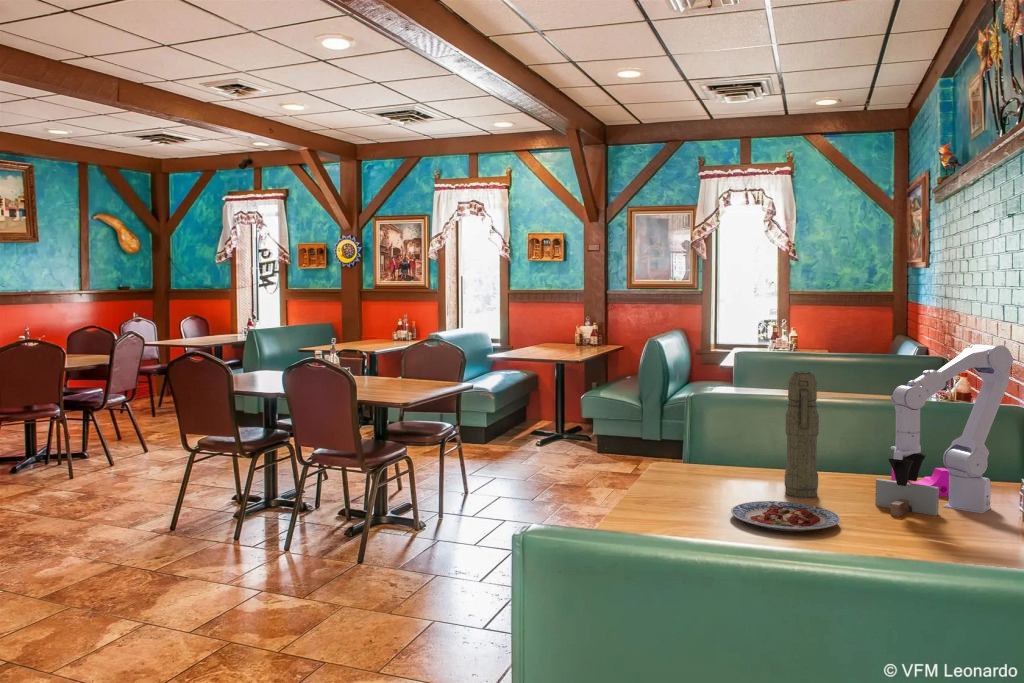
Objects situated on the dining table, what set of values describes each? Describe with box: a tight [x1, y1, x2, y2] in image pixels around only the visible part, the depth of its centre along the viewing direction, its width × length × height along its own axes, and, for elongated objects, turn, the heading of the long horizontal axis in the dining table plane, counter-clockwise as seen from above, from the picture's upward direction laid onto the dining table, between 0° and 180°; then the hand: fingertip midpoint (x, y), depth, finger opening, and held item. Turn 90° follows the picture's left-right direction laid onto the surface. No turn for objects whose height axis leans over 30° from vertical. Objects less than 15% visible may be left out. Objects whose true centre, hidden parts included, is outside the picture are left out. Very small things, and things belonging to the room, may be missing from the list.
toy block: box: [890, 467, 949, 497], centre depth 228 cm, size 15×6×8 cm, turn 90°
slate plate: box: [875, 478, 940, 517], centre depth 210 cm, size 15×2×7 cm, turn 45°
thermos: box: [784, 371, 820, 499], centre depth 226 cm, size 9×12×35 cm
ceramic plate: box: [730, 500, 841, 532], centre depth 200 cm, size 26×26×3 cm
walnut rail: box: [890, 499, 912, 517], centre depth 211 cm, size 17×2×3 cm, turn 135°
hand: (906, 483), depth 210 cm, fingers open, 7 cm apart
